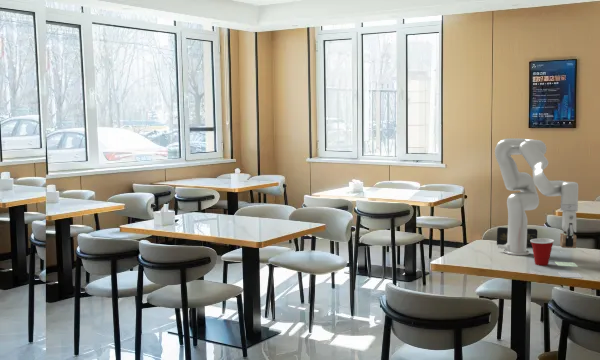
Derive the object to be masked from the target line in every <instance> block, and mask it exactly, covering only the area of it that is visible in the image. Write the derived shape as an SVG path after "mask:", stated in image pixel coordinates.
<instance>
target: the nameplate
mask: <svg viewBox="0 0 600 360" xmlns="http://www.w3.org/2000/svg"><path fill="white" fill-rule="evenodd" d="M507 239H508V227H503V226H502V227H501V226H500V227H499V226H498V227H497V228H496V245H497V246H498V245H504V244H506V243H507ZM532 239H538V229H537V228H527V245H526V248H533V247H532V244H531V242H530V240H532Z"/></svg>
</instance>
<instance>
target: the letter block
mask: <svg viewBox="0 0 600 360" xmlns="http://www.w3.org/2000/svg"><path fill="white" fill-rule="evenodd" d="M566 238H567V235H566V233H563V232H562V233H561V232H560V238H559V246H560V247H561V248H562V249H576V248H577V234H575V233H573V247H566Z"/></svg>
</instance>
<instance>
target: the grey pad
mask: <svg viewBox="0 0 600 360" xmlns="http://www.w3.org/2000/svg"><path fill="white" fill-rule="evenodd" d="M557 274H558V275H559V276H560V277H561V278H570V279H572V278H573V279H574V278H575V279H584V277H583V276H582V275H581V274H580V272H559V271H558V272H557Z"/></svg>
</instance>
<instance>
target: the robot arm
mask: <svg viewBox="0 0 600 360" xmlns="http://www.w3.org/2000/svg"><path fill="white" fill-rule="evenodd" d="M546 153H547V145H546V143H545V142H543V141H542V140H541V139H540V140H539V139H529V138H528V139H527V138H503V139H500V141H498V142H497V143H496V146H495V148H494V156H495V159H496V162H497V163H498V166H499V170H500V173H501V177H502V180H503V184H504V186H505V187H504V188H505V189H506V190H507V191H512V192H514V193H510V194H509V195H508V197H507V200H506V207H507V216H508V217H507V228H508V239H507V243H506V244H504V245H497V249H500V250H503V253H504V254H507V255H512V256H513V255H514V256H527V255H530V251H529V250H527V247H526V245H527V229H528V216H527V213H526V211H533V210H536V209H537V208H538V207H539V204H540V198H539V194H538V191H539V192H540V193H541V195H543V196H545V197H560V211H561V212H562V217H561V229H562V230H563V231H562V233H566V235H567V238H566V247H573V234H574V233H577V212H578V208H579V207H578V206H579V184H578V182H575V181H565V180H562V179H561V180H550V179H548V177H547V176H546V174H545V173H544V170H545V169H546V168H547V167H548V165H549V160H548V158H547V157H546V156H545V154H546ZM513 155H515V156H517V155H522V157H523V159H524V160H525V162H526V163H527V164H528V165H529V167H530V168H531V170H532V176H531V174H529V173H528V172H525V171H523V172H522V171H521V172H520V171H519V169H518V165H517V162H516V161H515V160H514V158H513V157H512V156H513ZM537 189H538V190H537ZM517 191H519V192H517Z"/></svg>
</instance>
